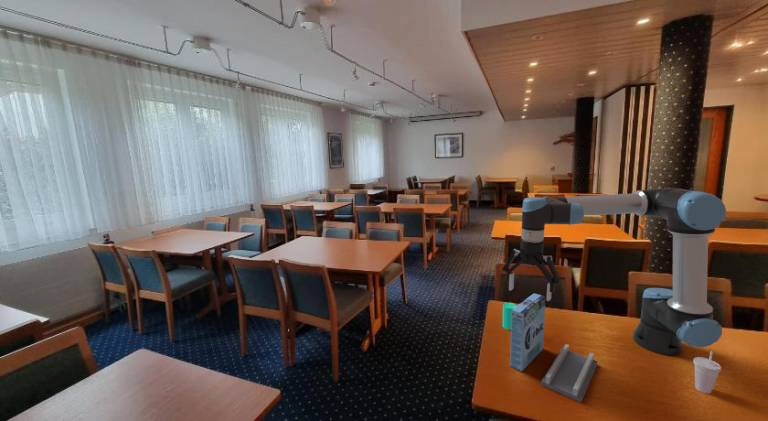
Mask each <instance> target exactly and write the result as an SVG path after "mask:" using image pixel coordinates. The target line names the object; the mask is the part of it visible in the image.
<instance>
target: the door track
mask: <svg viewBox="0 0 768 421" xmlns="http://www.w3.org/2000/svg"><path fill="white" fill-rule="evenodd" d="M556 355H557V356H556V357H555V359H554V360H553V362H552V364H551V365H550V366H549V368H548V370H547V371H546V372H545V375H543V378H542V379H541V381H540V382H541V383H540V385H541V386H543V387H546V388H547V389H549V390H552V391H554V392H556V393H557V394H560V395H563V396H565V397H568V398H569V399H572V400H573V401H576V402H578V403H582V402H583V400H584V397H585V395H586V392H587V390H588V387H589V385H590V383H591V381H592V379H593V376H594V374H595V371H596V368H597V366H598V360H596V359H595V358H594V357H595V356H594V355H595V354H594V353H593V352H589V354H588V356H584V355H582V354H578V353H575V352H572V351H570V344H566V343H565V344H564V346H563V347H562V348H560V351H559V352H558V354H556Z"/></svg>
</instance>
